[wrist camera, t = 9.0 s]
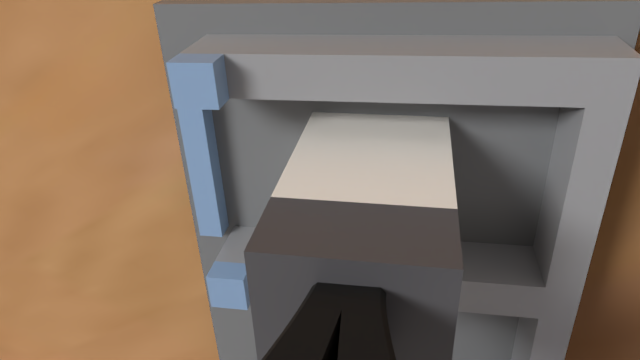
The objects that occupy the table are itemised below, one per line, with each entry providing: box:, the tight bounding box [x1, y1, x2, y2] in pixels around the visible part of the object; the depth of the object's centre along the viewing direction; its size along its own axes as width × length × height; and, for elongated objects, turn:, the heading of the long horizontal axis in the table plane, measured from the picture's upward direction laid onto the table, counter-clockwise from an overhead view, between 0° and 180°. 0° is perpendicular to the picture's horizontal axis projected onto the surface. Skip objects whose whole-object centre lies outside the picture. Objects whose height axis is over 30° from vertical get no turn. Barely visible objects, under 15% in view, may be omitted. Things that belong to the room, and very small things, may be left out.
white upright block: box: [244, 112, 463, 360], centre depth 13 cm, size 4×4×7 cm
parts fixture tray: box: [153, 0, 640, 360], centre depth 19 cm, size 23×13×3 cm, turn 2°
